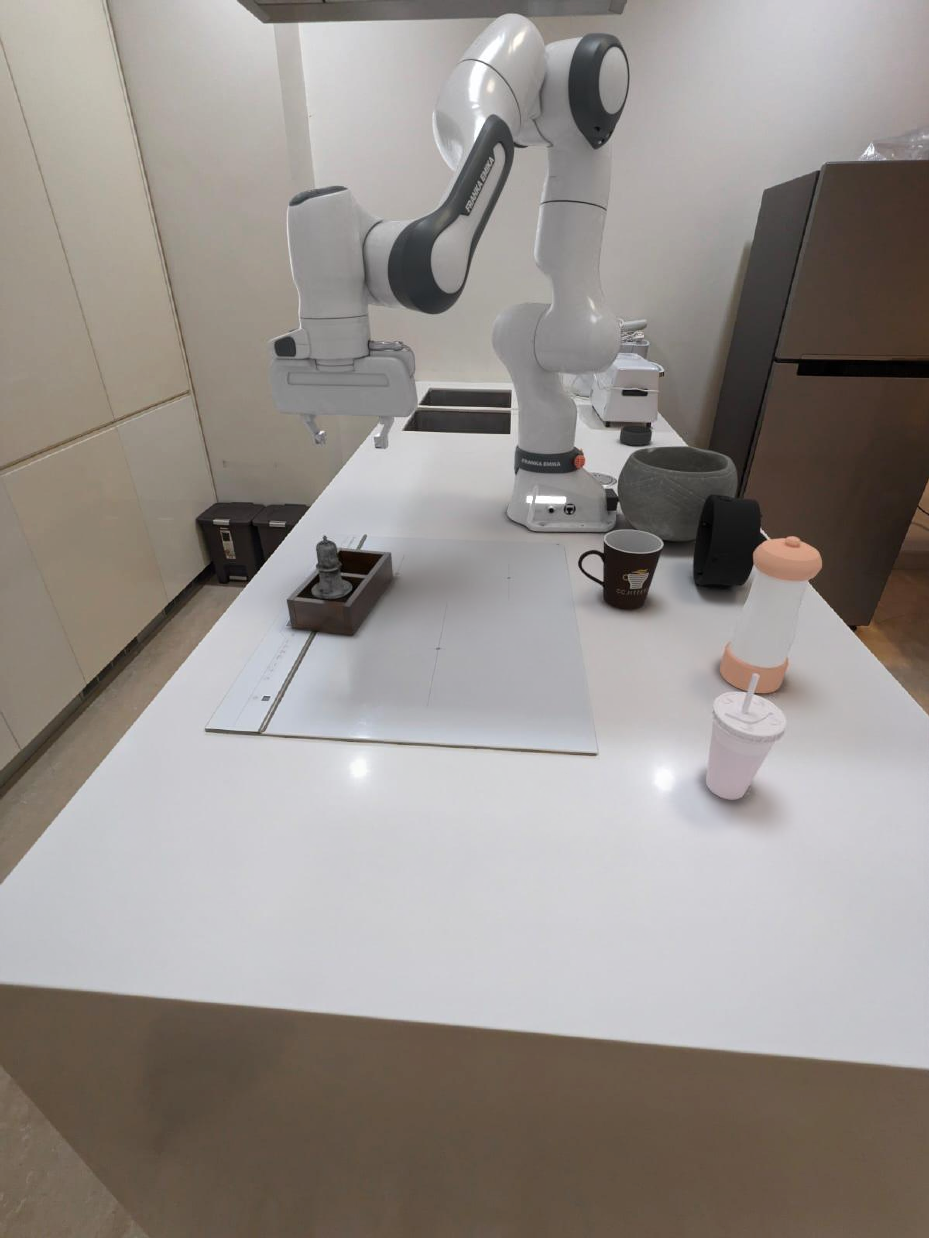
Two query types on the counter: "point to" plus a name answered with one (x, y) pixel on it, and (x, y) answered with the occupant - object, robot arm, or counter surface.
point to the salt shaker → (330, 574)
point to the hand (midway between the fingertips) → (350, 446)
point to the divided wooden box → (368, 584)
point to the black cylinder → (726, 541)
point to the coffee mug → (627, 567)
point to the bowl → (672, 488)
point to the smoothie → (741, 739)
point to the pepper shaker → (770, 614)
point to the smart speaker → (635, 435)
